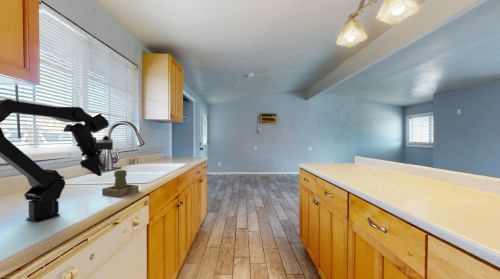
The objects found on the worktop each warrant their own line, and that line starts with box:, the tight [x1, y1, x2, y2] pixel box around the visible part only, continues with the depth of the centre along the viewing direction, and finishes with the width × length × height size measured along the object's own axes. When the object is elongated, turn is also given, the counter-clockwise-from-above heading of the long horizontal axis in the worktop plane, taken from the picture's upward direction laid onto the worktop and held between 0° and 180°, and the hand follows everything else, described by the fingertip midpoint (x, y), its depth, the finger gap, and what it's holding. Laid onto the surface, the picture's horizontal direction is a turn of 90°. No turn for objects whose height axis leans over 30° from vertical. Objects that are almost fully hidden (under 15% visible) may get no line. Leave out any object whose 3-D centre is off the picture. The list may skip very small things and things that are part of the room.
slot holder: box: [101, 183, 139, 198], centre depth 104 cm, size 11×11×3 cm
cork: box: [113, 169, 128, 190], centre depth 104 cm, size 6×6×11 cm
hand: (100, 171), depth 93 cm, fingers open, 9 cm apart
